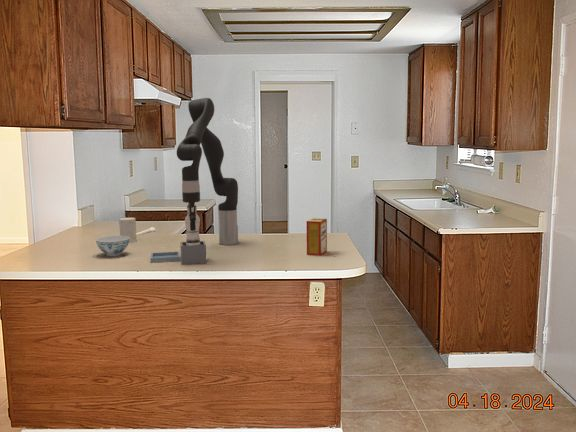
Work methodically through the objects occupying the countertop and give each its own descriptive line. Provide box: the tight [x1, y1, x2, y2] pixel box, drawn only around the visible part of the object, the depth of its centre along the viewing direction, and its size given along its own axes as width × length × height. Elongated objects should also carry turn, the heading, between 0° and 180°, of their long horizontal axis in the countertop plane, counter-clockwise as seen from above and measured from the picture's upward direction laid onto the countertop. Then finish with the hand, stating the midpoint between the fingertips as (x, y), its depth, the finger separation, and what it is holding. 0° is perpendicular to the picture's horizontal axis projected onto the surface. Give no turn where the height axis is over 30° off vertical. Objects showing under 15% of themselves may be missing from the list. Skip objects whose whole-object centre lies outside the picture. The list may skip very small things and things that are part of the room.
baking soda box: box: [306, 217, 328, 257], centre depth 270 cm, size 10×6×16 cm
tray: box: [150, 251, 181, 264], centre depth 263 cm, size 13×12×2 cm
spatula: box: [136, 226, 156, 237], centre depth 325 cm, size 28×4×3 cm, turn 161°
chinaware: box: [95, 235, 130, 257], centre depth 273 cm, size 15×15×8 cm
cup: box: [118, 217, 138, 244], centre depth 306 cm, size 8×8×12 cm
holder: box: [179, 240, 207, 265], centre depth 257 cm, size 11×10×8 cm
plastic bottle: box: [184, 210, 201, 246], centre depth 256 cm, size 6×7×20 cm
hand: (192, 228), depth 256 cm, fingers closed on plastic bottle, 6 cm apart
